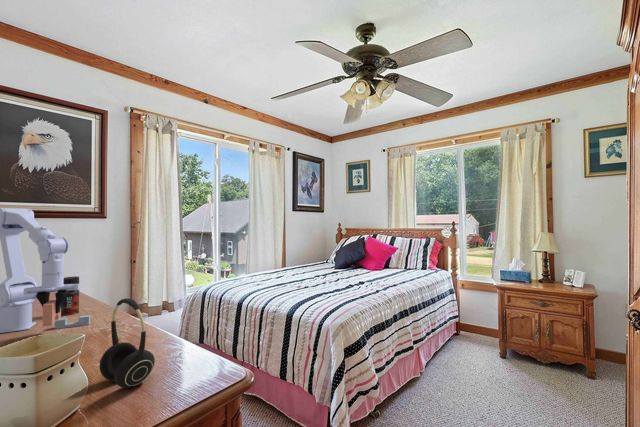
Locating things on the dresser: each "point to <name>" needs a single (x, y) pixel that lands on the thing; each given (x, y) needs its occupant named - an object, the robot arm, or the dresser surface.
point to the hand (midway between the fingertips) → (52, 313)
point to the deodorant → (70, 298)
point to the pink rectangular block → (50, 313)
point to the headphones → (126, 356)
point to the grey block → (63, 322)
